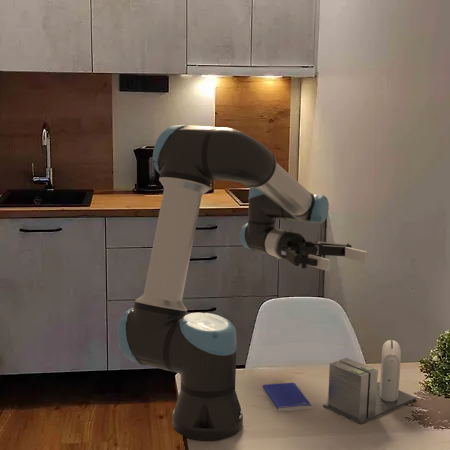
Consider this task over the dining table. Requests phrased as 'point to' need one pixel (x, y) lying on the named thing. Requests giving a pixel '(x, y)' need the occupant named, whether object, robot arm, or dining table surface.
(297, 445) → the dining table surface
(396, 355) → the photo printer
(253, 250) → the robot arm
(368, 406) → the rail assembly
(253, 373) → the dining table surface
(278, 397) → the hard drive
